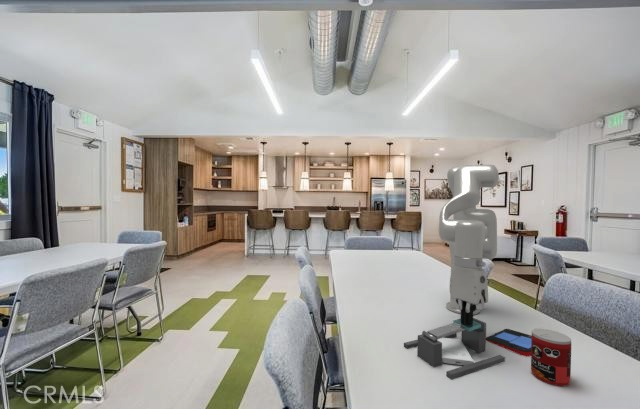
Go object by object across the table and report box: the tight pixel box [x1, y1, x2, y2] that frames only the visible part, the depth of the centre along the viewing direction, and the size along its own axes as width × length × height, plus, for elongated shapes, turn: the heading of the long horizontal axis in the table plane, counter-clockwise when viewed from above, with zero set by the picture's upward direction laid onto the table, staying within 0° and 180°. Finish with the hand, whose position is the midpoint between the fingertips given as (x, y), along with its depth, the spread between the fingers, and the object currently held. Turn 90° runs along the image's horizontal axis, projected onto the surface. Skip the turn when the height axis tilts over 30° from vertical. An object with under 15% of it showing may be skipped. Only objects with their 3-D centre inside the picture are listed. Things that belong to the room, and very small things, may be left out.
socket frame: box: [403, 317, 506, 380], centre depth 83 cm, size 21×18×9 cm
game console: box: [486, 328, 532, 357], centre depth 91 cm, size 14×13×2 cm
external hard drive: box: [438, 338, 475, 366], centre depth 83 cm, size 2×8×12 cm
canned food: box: [530, 328, 572, 387], centre depth 73 cm, size 8×8×11 cm
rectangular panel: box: [421, 317, 481, 342], centre depth 83 cm, size 18×6×1 cm, turn 114°
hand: (466, 323), depth 85 cm, fingers closed
